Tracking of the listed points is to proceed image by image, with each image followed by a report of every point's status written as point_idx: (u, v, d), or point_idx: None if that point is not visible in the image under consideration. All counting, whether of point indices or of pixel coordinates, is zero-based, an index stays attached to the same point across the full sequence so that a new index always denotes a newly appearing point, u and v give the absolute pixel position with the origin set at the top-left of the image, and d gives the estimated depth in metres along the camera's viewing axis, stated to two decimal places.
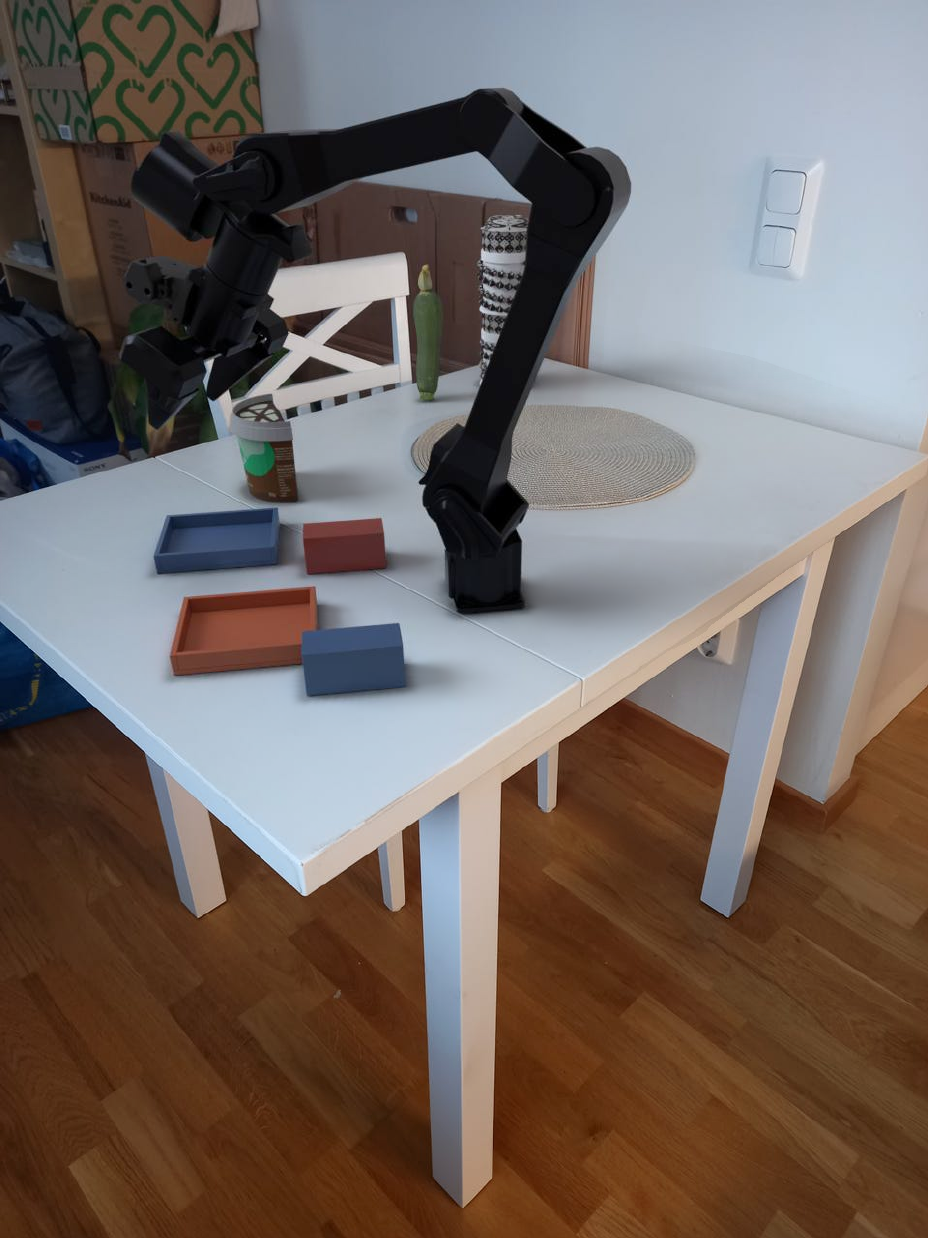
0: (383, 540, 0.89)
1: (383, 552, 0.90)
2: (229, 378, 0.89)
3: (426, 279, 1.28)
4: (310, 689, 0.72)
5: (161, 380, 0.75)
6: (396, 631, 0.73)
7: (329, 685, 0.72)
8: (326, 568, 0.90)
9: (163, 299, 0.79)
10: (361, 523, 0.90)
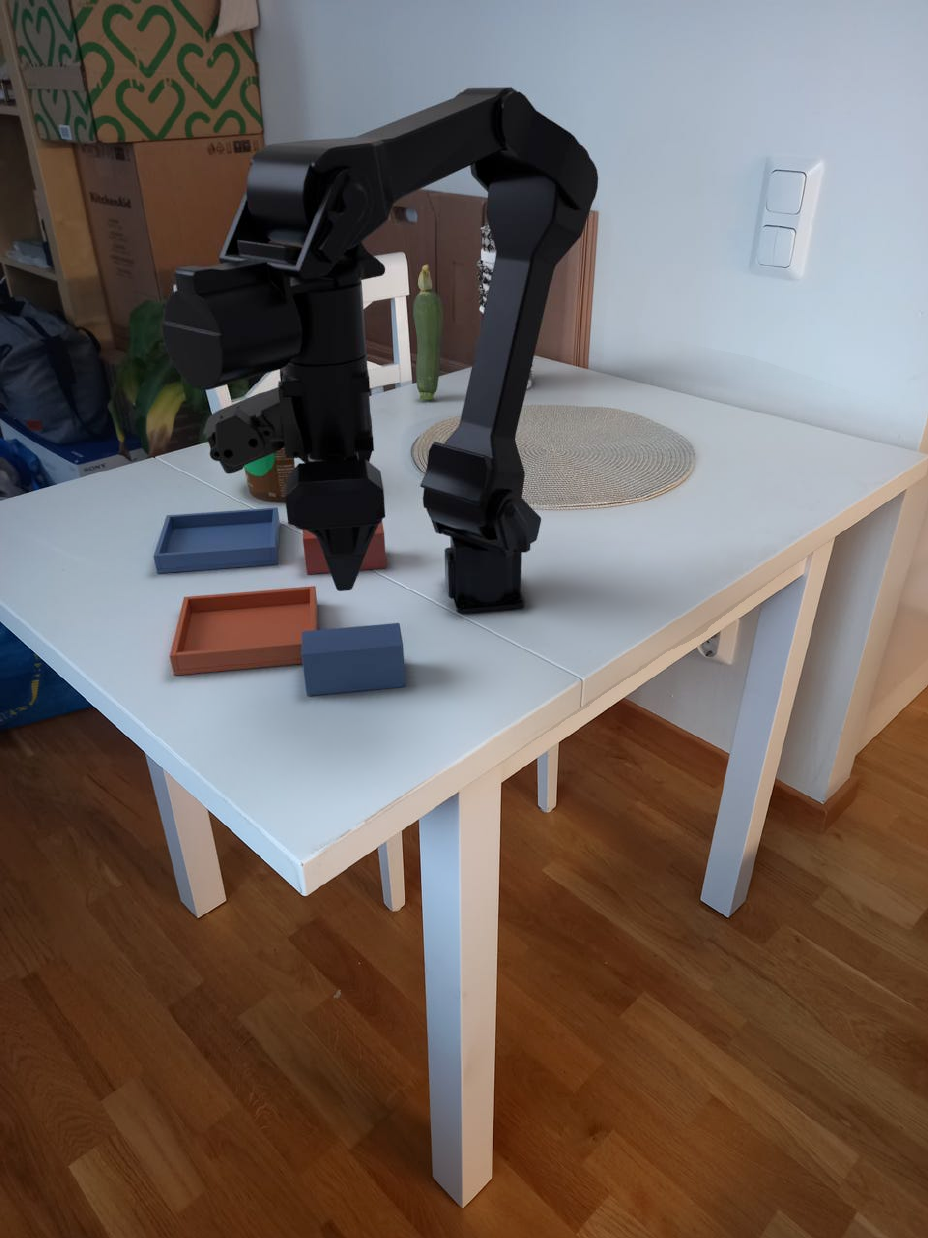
0: (383, 540, 0.89)
1: (383, 552, 0.90)
2: None
3: (426, 279, 1.28)
4: (310, 689, 0.72)
5: (359, 509, 0.56)
6: (396, 631, 0.73)
7: (329, 685, 0.72)
8: (326, 568, 0.90)
9: (266, 444, 0.60)
10: None
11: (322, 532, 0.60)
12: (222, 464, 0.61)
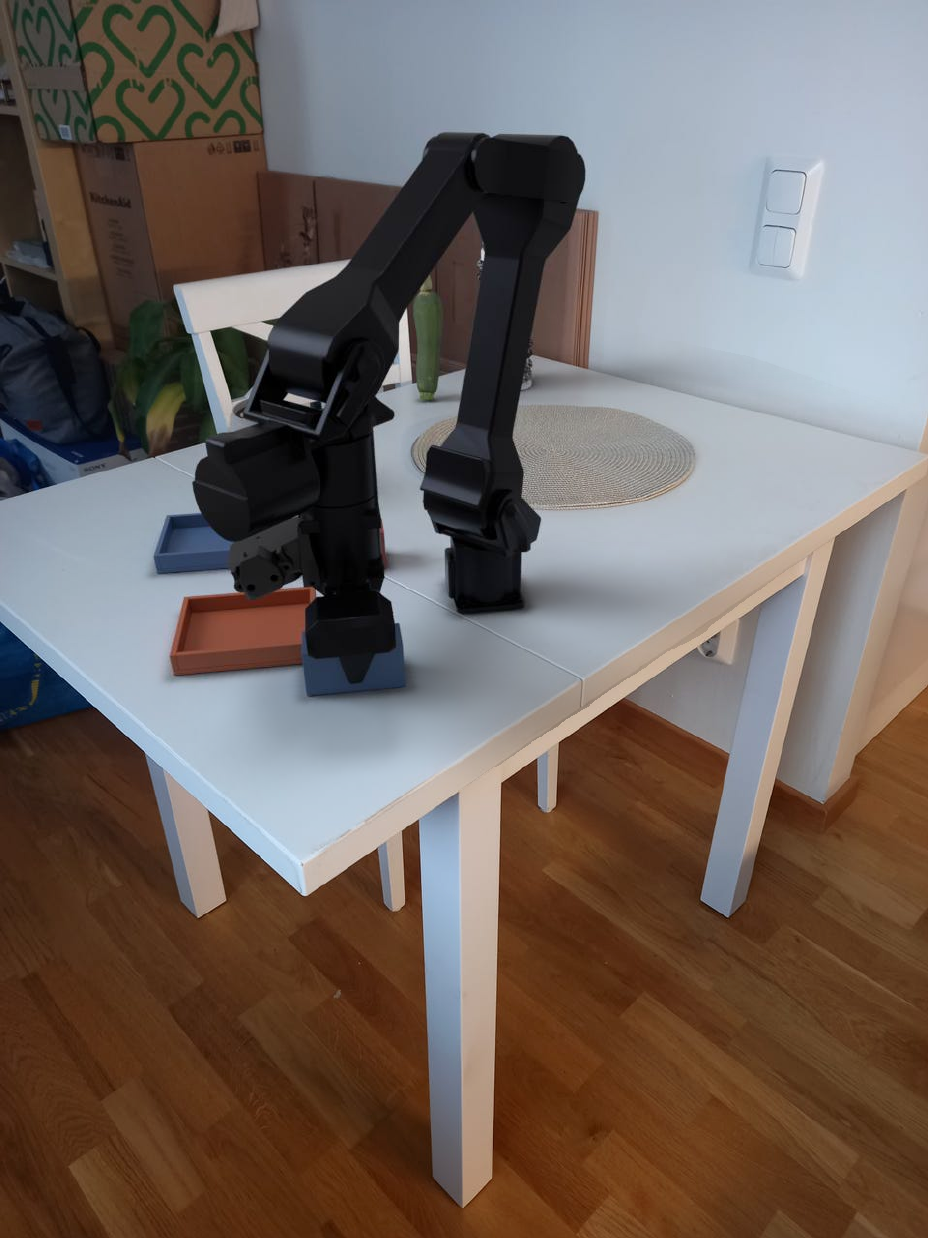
0: (383, 540, 0.89)
1: (383, 552, 0.90)
2: None
3: (426, 279, 1.28)
4: (310, 689, 0.72)
5: (373, 643, 0.61)
6: (396, 631, 0.73)
7: (329, 685, 0.72)
8: None
9: None
10: None
11: None
12: (244, 592, 0.66)
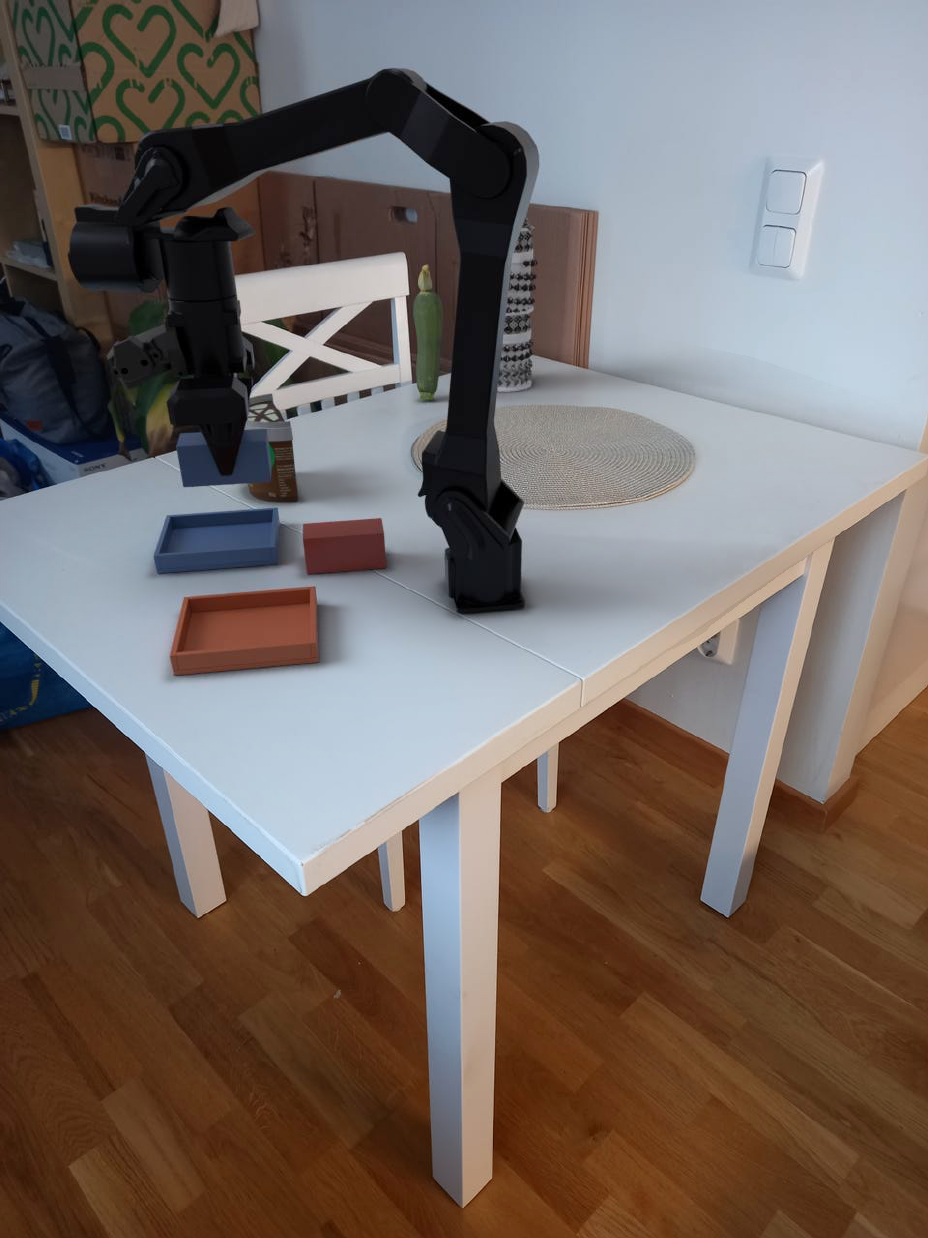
0: (383, 540, 0.89)
1: (383, 552, 0.90)
2: None
3: (426, 279, 1.28)
4: (186, 480, 0.82)
5: (225, 412, 0.72)
6: (262, 433, 0.84)
7: (202, 477, 0.82)
8: (326, 568, 0.90)
9: (156, 365, 0.76)
10: (361, 523, 0.90)
11: (204, 424, 0.78)
12: (122, 382, 0.77)
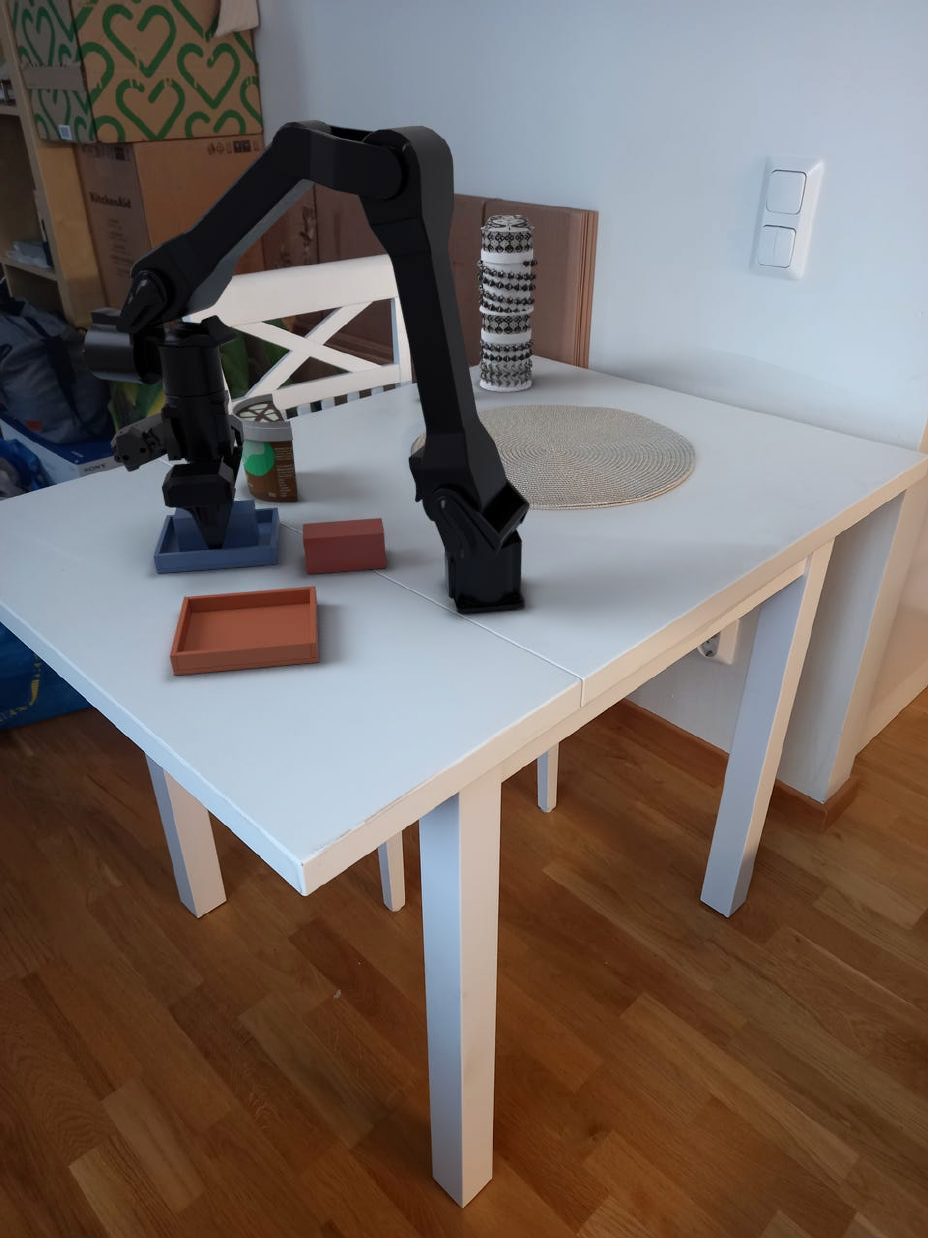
0: (383, 540, 0.89)
1: (383, 552, 0.90)
2: None
3: None
4: (182, 548, 0.93)
5: (213, 495, 0.82)
6: (250, 504, 0.94)
7: (196, 545, 0.93)
8: (326, 568, 0.90)
9: (154, 451, 0.86)
10: (361, 523, 0.90)
11: (194, 510, 0.86)
12: (124, 465, 0.87)
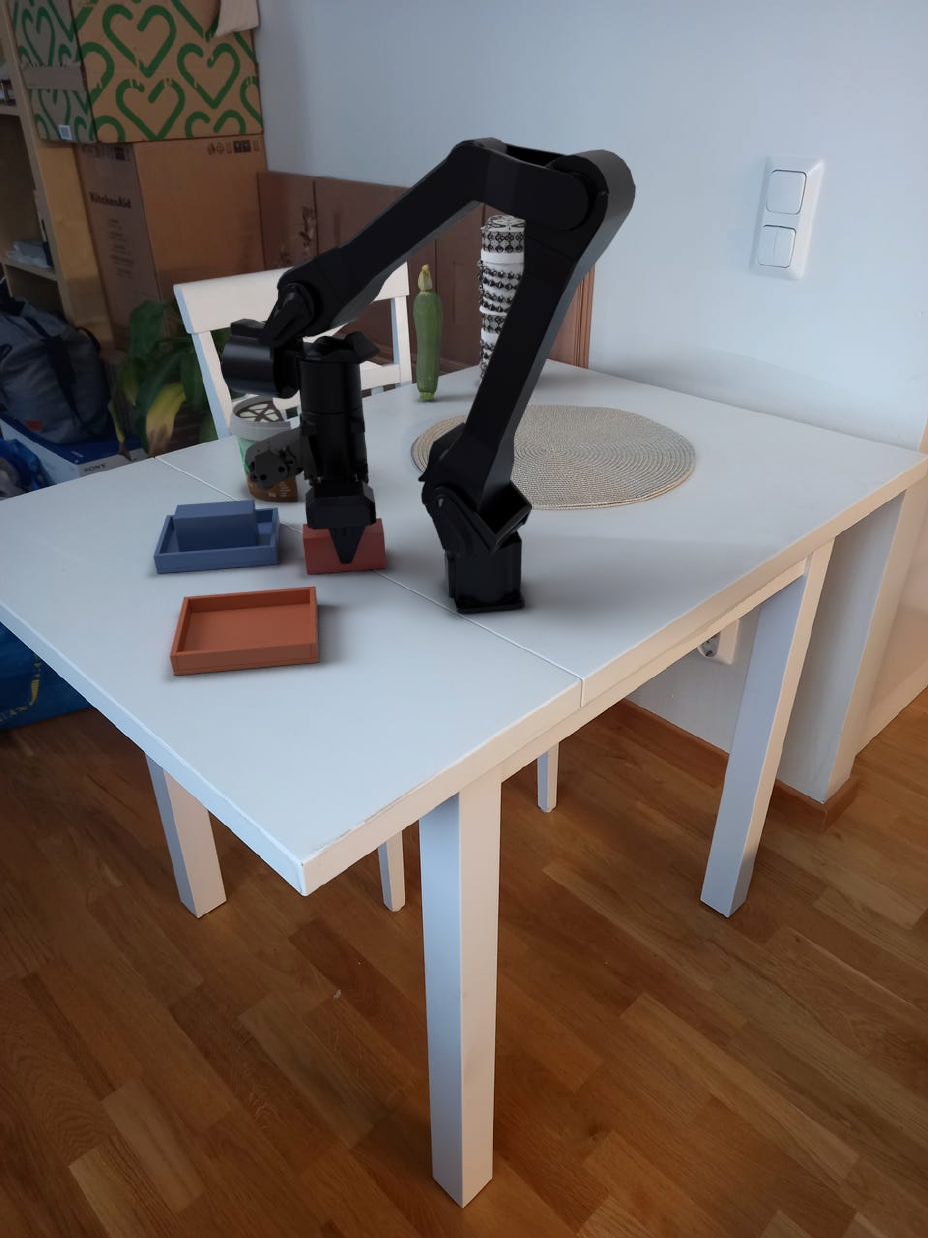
0: (383, 540, 0.89)
1: (383, 552, 0.90)
2: None
3: (426, 279, 1.28)
4: (182, 548, 0.93)
5: (358, 517, 0.79)
6: (250, 504, 0.94)
7: (196, 545, 0.93)
8: (326, 568, 0.90)
9: (290, 469, 0.83)
10: None
11: None
12: (258, 484, 0.84)
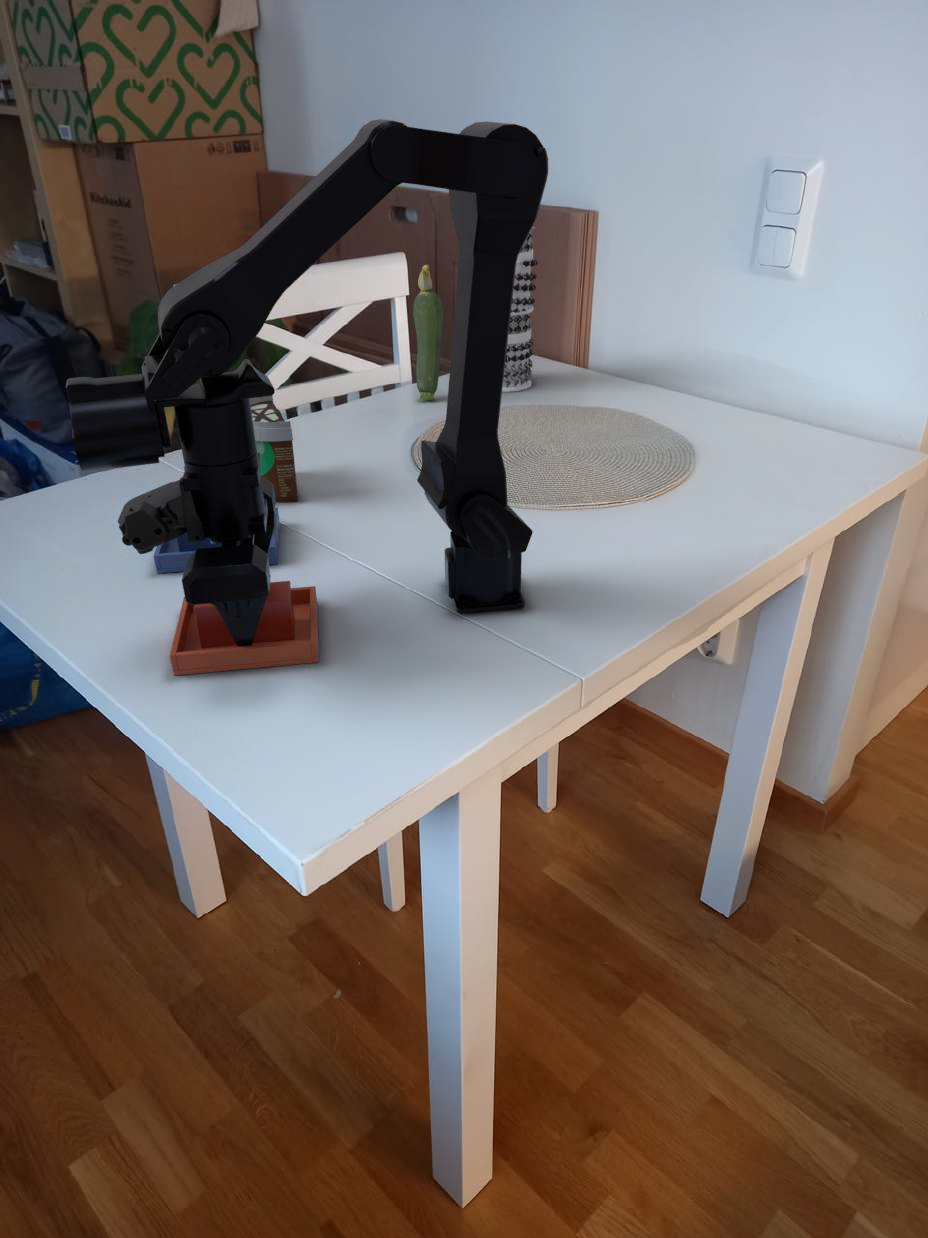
0: (289, 608, 0.77)
1: (290, 622, 0.77)
2: None
3: (426, 279, 1.28)
4: (182, 548, 0.93)
5: (245, 589, 0.67)
6: None
7: (196, 545, 0.93)
8: (223, 641, 0.77)
9: (171, 530, 0.71)
10: None
11: (220, 602, 0.71)
12: None
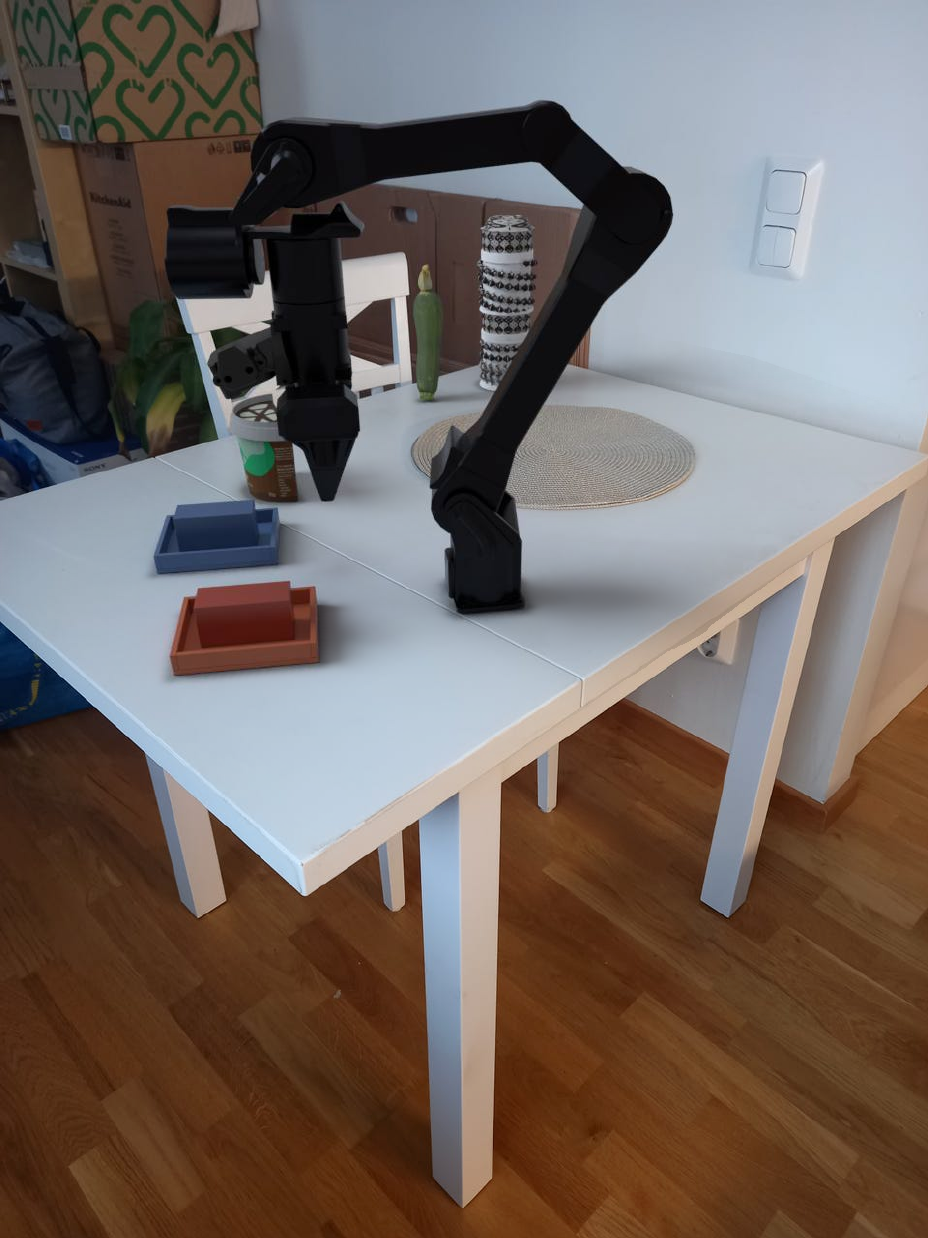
0: (289, 608, 0.77)
1: (290, 622, 0.77)
2: None
3: (426, 279, 1.28)
4: (182, 548, 0.93)
5: (338, 423, 0.67)
6: (250, 504, 0.94)
7: (196, 545, 0.93)
8: (223, 641, 0.77)
9: (260, 373, 0.71)
10: (265, 588, 0.78)
11: (307, 447, 0.71)
12: (223, 391, 0.72)
